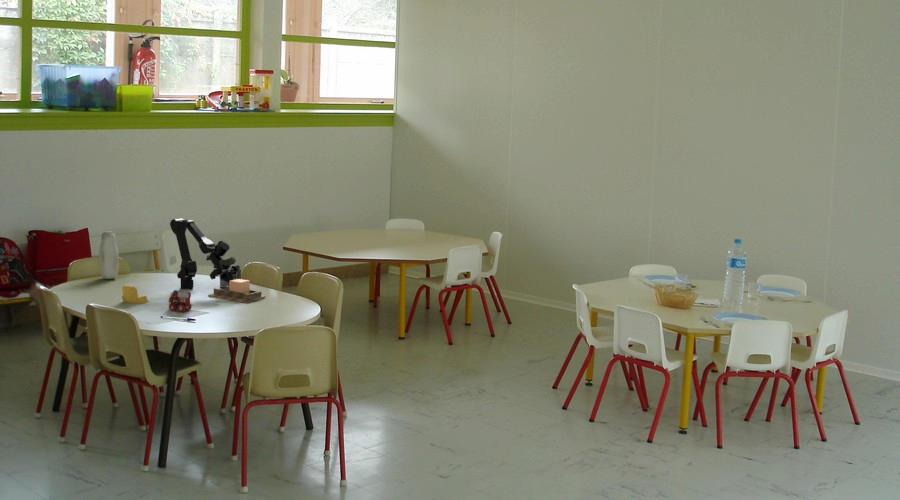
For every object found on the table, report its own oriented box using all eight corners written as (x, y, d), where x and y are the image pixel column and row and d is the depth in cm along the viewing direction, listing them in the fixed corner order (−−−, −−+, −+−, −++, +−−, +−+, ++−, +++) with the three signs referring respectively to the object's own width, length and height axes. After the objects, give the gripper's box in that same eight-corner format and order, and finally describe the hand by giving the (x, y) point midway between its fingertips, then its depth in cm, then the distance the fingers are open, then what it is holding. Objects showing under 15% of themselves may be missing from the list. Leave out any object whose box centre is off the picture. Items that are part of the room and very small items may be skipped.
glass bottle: (104, 276, 575) (103, 229, 570) (121, 277, 574) (120, 230, 569) (96, 280, 565) (95, 231, 560) (114, 280, 564) (113, 232, 559)
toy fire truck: (174, 308, 501) (173, 288, 499) (194, 310, 496) (194, 290, 495) (165, 310, 494) (165, 290, 493) (186, 313, 490) (186, 292, 488)
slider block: (229, 295, 529) (229, 280, 528) (238, 293, 535) (238, 278, 534) (240, 297, 525) (240, 282, 524) (249, 295, 531) (249, 280, 530)
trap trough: (208, 296, 531) (208, 289, 530) (228, 291, 545) (228, 284, 544) (245, 302, 518) (245, 295, 517) (265, 297, 532) (265, 290, 531)
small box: (241, 287, 558) (241, 268, 557) (238, 289, 552) (238, 270, 550) (223, 286, 559) (223, 268, 558) (219, 288, 553) (219, 270, 551)
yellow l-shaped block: (148, 301, 515) (148, 284, 513) (136, 304, 506) (136, 287, 504) (132, 299, 518) (132, 282, 517) (120, 302, 510) (119, 285, 508)
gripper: (213, 254, 523) (229, 277, 520) (237, 250, 539) (253, 272, 536) (202, 267, 529) (218, 290, 525) (227, 263, 545) (242, 285, 541)
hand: (233, 284), depth 531 cm, fingers closed, pressing on slider block
